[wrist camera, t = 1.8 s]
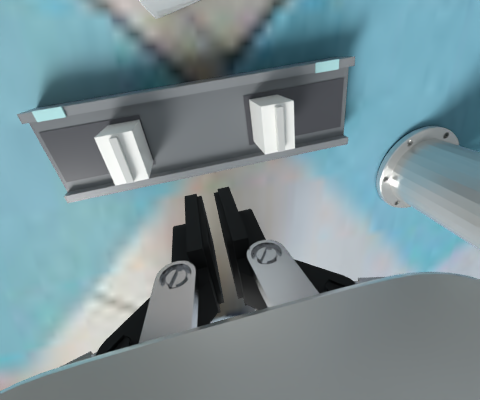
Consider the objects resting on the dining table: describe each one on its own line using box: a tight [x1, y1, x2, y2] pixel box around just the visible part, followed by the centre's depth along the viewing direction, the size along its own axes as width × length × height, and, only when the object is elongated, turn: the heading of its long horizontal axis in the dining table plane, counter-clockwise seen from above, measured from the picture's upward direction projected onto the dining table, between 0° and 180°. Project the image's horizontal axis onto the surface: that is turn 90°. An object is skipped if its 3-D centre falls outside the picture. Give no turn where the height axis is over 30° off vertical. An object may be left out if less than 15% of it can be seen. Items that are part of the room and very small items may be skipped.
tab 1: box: [94, 120, 153, 186], centre depth 23 cm, size 3×4×5 cm
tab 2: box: [249, 95, 295, 154], centre depth 25 cm, size 3×4×5 cm
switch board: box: [17, 57, 355, 203], centre depth 27 cm, size 32×9×4 cm, turn 96°
